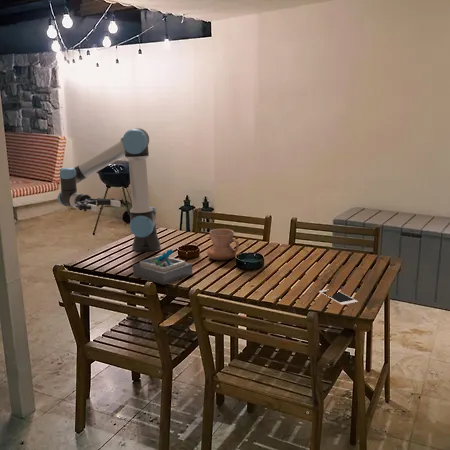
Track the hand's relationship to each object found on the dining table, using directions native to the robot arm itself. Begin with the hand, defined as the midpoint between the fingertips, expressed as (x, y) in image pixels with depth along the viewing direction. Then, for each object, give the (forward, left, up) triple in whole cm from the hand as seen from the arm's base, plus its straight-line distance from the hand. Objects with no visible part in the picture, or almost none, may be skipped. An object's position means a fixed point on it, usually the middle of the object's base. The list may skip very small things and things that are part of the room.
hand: (108, 206), depth 231 cm
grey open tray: (-8, +27, -30) cm, 41 cm away
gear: (-7, +28, -25) cm, 38 cm away
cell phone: (-33, +102, -31) cm, 111 cm away
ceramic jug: (-45, +32, -30) cm, 63 cm away
